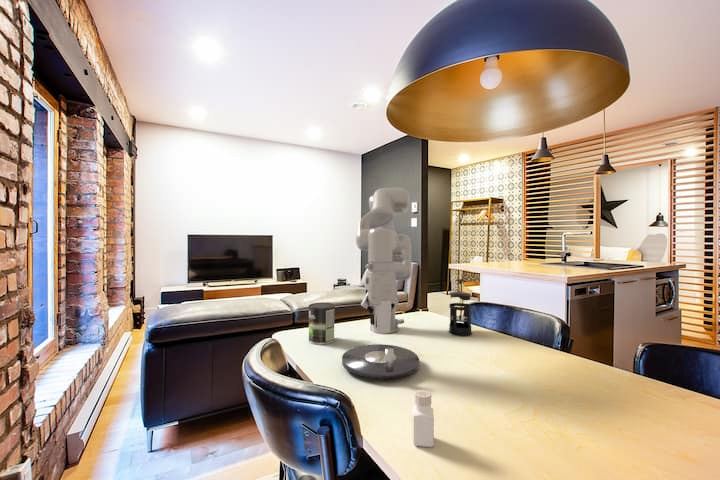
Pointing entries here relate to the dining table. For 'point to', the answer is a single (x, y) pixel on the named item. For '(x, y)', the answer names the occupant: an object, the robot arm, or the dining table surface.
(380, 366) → the turntable
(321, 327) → the coffee can
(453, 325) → the french press
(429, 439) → the white pill bottle
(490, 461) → the dining table surface
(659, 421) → the dining table surface
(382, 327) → the drinking glass
